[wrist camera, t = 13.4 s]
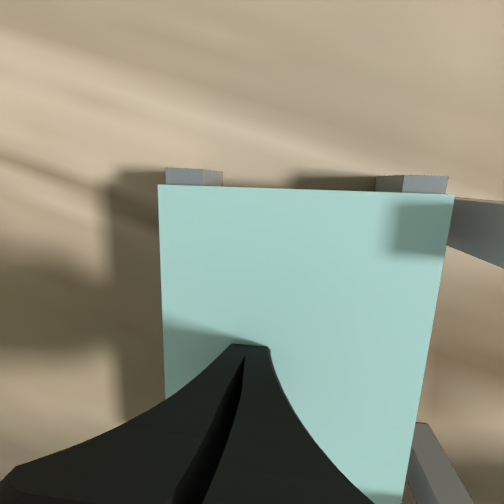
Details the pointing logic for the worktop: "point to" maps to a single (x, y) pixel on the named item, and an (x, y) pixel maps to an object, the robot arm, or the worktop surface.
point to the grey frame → (459, 237)
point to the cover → (312, 306)
